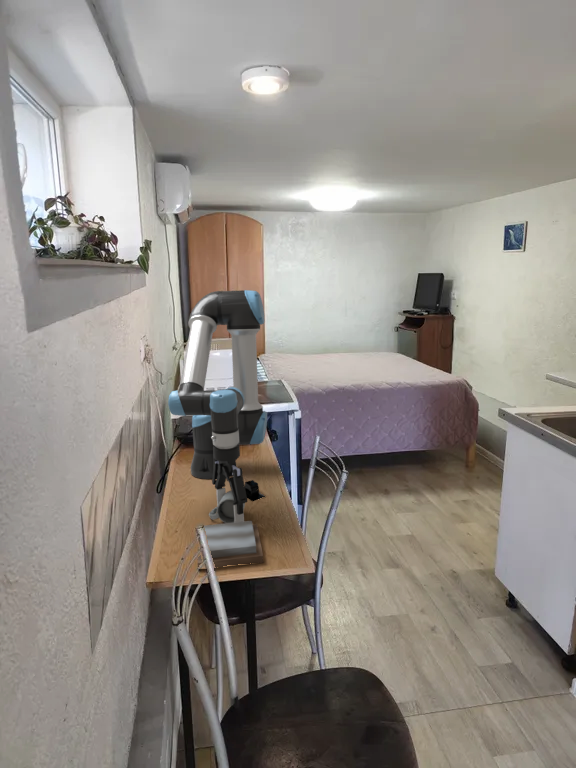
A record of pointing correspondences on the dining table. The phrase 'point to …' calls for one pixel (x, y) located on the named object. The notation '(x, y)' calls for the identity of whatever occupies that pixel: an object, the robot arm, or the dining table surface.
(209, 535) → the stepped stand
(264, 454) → the dining table surface
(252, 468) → the dining table surface
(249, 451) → the dining table surface
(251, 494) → the black angular block
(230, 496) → the ceramic mug
